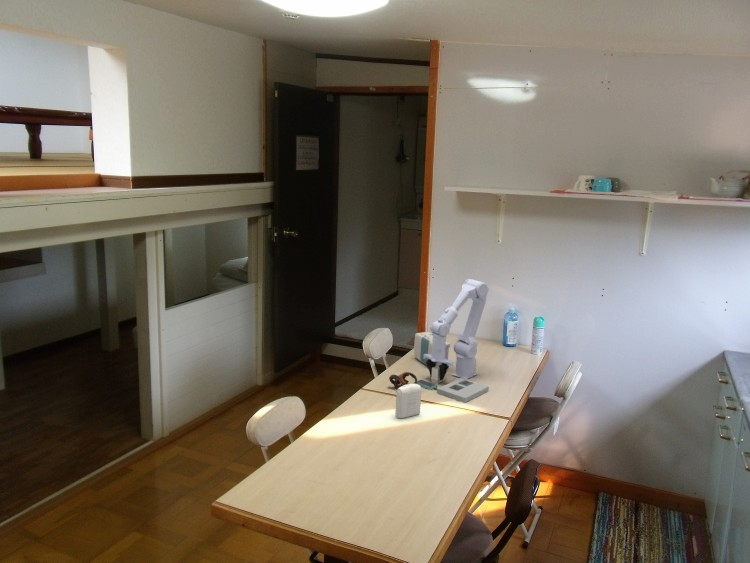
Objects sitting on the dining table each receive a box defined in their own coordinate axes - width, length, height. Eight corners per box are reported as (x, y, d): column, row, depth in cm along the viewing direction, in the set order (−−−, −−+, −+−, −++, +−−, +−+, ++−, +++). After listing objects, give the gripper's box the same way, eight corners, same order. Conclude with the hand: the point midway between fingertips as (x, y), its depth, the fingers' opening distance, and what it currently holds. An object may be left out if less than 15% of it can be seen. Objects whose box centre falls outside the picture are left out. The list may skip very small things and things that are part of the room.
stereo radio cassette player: (412, 358, 301) (414, 319, 296) (427, 356, 304) (429, 317, 300) (434, 373, 282) (437, 331, 278) (449, 370, 286) (452, 329, 281)
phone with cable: (414, 384, 267) (414, 381, 267) (420, 381, 270) (420, 379, 270) (437, 392, 259) (437, 389, 259) (443, 389, 262) (444, 386, 262)
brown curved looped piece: (413, 384, 268) (419, 372, 263) (412, 401, 261) (418, 389, 256) (387, 377, 267) (392, 365, 262) (385, 394, 259) (391, 381, 254)
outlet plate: (460, 382, 272) (461, 377, 271) (488, 391, 263) (488, 385, 262) (436, 393, 258) (437, 387, 258) (465, 402, 249) (465, 397, 249)
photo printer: (415, 410, 241) (416, 380, 238) (421, 414, 237) (423, 384, 234) (393, 415, 235) (394, 385, 232) (400, 419, 231) (401, 388, 229)
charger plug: (436, 379, 274) (437, 365, 273) (442, 381, 272) (443, 367, 271) (431, 381, 271) (431, 367, 270) (437, 383, 269) (438, 369, 268)
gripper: (420, 346, 270) (418, 375, 273) (447, 354, 261) (445, 384, 264) (429, 343, 275) (427, 371, 278) (456, 350, 266) (454, 380, 269)
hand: (437, 377), depth 271 cm, fingers open, 5 cm apart
